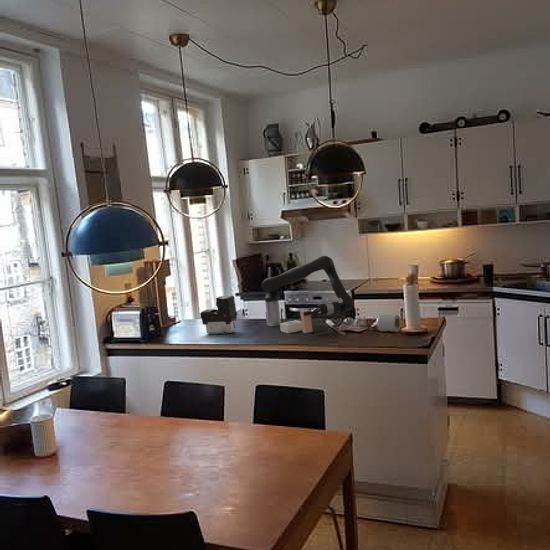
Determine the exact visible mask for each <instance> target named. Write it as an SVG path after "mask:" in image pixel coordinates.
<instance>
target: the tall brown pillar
mask: <svg viewBox="0 0 550 550" xmlns="http://www.w3.org/2000/svg"><path fill="white" fill-rule="evenodd" d="M308 311H310V310H305V309H302V310H300V311H299V315H300V314H301V315H300V321H301V323H302V330H301V331H302V333H304V334H308V333H312V332H314V330H313V323H312V315H307V316H304V312H308Z"/></svg>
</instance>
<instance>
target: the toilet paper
mask: <svg viewBox="0 0 550 550" xmlns="http://www.w3.org/2000/svg"><path fill="white" fill-rule="evenodd" d="M377 326H378V330H379V331H380V332H387V331H390V332H391V333H393V332H394V333H398V332H399V331H400V330H401V326H402V320H401V316H400V315H398V314H380V315H379V317H378V320H377ZM390 332H389V333H390Z"/></svg>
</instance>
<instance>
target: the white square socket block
mask: <svg viewBox="0 0 550 550" xmlns="http://www.w3.org/2000/svg"><path fill="white" fill-rule="evenodd" d="M279 328H280V332H283V333H286V334H290V333H297V332H299V331H300V332H301V331H302V323H301V320H295V319H294V320H291V321H285V322H281V323H280V325H279Z"/></svg>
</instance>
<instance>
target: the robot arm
mask: <svg viewBox="0 0 550 550" xmlns="http://www.w3.org/2000/svg"><path fill="white" fill-rule="evenodd" d="M335 267H336V266H335V263H334V260H333V258H331V257H329V256H328V255H322V256H319V257H318V258H316V259H313V260H311V261H310V262H307V263H303V264H301V265H298V266H295V267H293V268H290V269H289V270H287V271H285V272H282V273H281V274H279V275H277V276H273V277H270V276H269V277H267V278H265V279H264V280H263V281H262V283H261V289H263V291H264V292H265V297H264V301H265V320H266V326H268V327H277V326H280V323H282V322H281V321H282V319H281V312H280V311H281V310H280V302H279V296H280V294H279V288H280V287H282V286H286V285H290V284H293V283H296V282H298V281H299V282H300V281H302V280H304V279H305V278H307V277H309V276H310V275H312V274H313V273H315V272H318V271H324V272H325V274H326V275H327V276H328V279H329V281H330V285H331V288H332V290H333V292H334V295H335V296H336V297H337V299H341V300H342V301H341V302H339V301H331V302H325V303H319V304H317V305H316V307H309V308H305V309H304V310H310V311H308V312H304V316H307V315H311V316H317V315H318V316H319V317H322V316H327V315H331V314H335V313H345V312H349V311H350V310H351V309H352V308H353V307H354V305H355V302H354V299H353V298H352V296H351V295H350V294H349V293H348V292H347V290H346V289H345V287H344V285H343V282H342V280H341V279H340V277H339V274H338V273H337V270H336V268H335ZM299 315H300V316H301V314H300V313H299Z"/></svg>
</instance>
